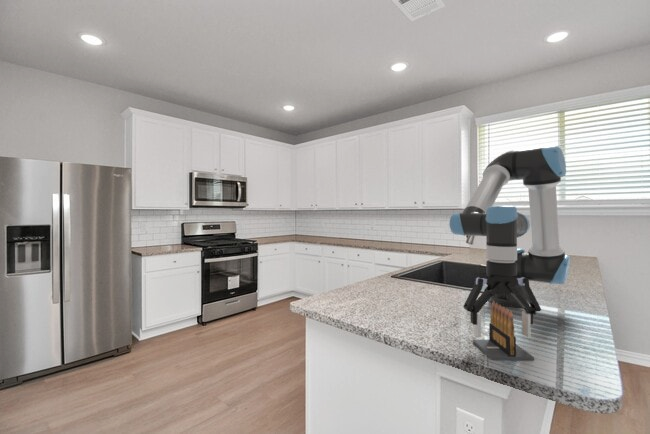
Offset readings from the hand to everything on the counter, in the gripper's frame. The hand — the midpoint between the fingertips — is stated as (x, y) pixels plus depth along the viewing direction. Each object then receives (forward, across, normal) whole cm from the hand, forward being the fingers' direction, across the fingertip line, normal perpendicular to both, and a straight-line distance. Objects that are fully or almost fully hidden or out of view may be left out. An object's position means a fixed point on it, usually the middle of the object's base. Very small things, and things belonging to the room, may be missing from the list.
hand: (501, 335), depth 86 cm
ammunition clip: (+4, 0, 0) cm, 4 cm away
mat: (+4, 0, 0) cm, 4 cm away
